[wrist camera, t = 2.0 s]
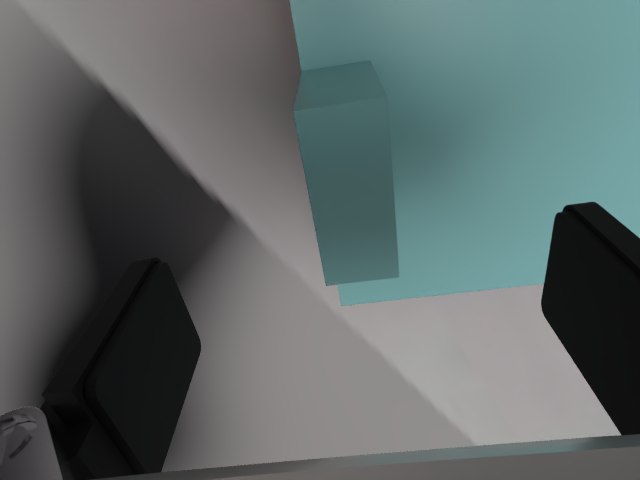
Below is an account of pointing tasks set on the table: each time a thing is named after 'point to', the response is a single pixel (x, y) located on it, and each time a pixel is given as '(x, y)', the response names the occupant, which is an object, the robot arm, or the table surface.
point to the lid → (461, 135)
